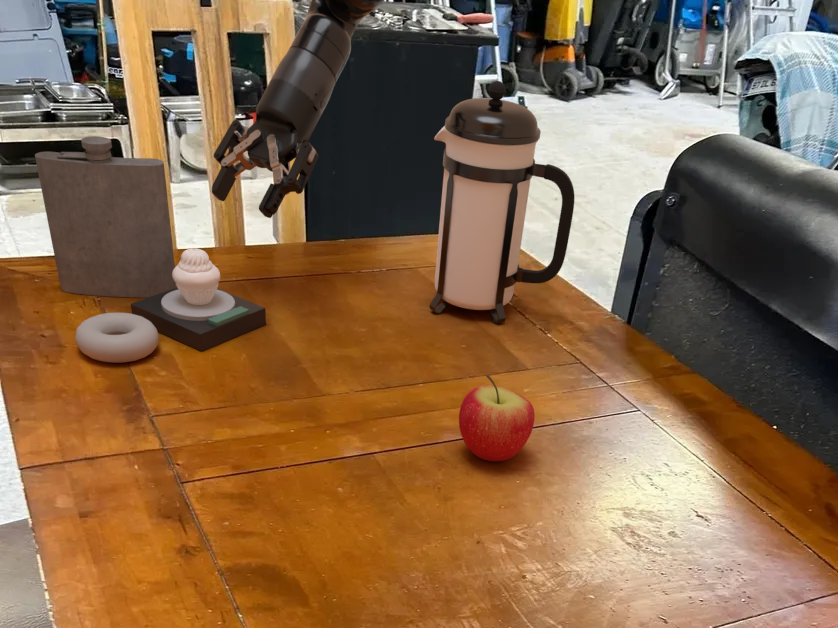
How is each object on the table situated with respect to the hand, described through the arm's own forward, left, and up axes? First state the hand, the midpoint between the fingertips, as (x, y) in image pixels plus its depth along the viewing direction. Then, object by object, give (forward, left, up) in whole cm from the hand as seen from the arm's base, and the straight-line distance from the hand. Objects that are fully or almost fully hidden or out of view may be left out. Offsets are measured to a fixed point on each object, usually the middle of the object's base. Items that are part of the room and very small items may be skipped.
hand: (240, 205), depth 118 cm
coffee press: (+24, +25, -14) cm, 37 cm away
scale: (0, -9, -14) cm, 16 cm away
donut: (-1, -21, -14) cm, 26 cm away
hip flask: (-15, -10, -14) cm, 23 cm away
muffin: (0, -8, -11) cm, 14 cm away
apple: (+48, -10, -14) cm, 51 cm away
